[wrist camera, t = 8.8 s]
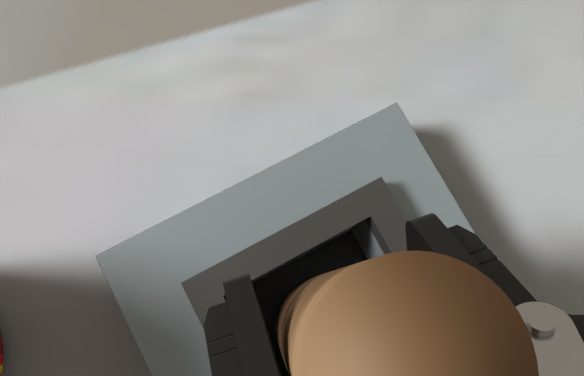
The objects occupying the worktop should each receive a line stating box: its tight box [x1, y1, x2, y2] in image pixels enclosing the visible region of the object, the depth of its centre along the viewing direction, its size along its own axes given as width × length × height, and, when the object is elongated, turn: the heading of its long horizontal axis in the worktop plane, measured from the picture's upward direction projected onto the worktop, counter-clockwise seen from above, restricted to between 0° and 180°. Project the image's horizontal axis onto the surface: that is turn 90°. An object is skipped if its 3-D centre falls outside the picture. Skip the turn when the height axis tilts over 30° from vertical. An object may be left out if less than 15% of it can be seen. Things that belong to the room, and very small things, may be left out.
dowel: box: [275, 250, 539, 376], centre depth 14 cm, size 4×4×12 cm
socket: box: [95, 103, 475, 376], centre depth 19 cm, size 12×12×4 cm
